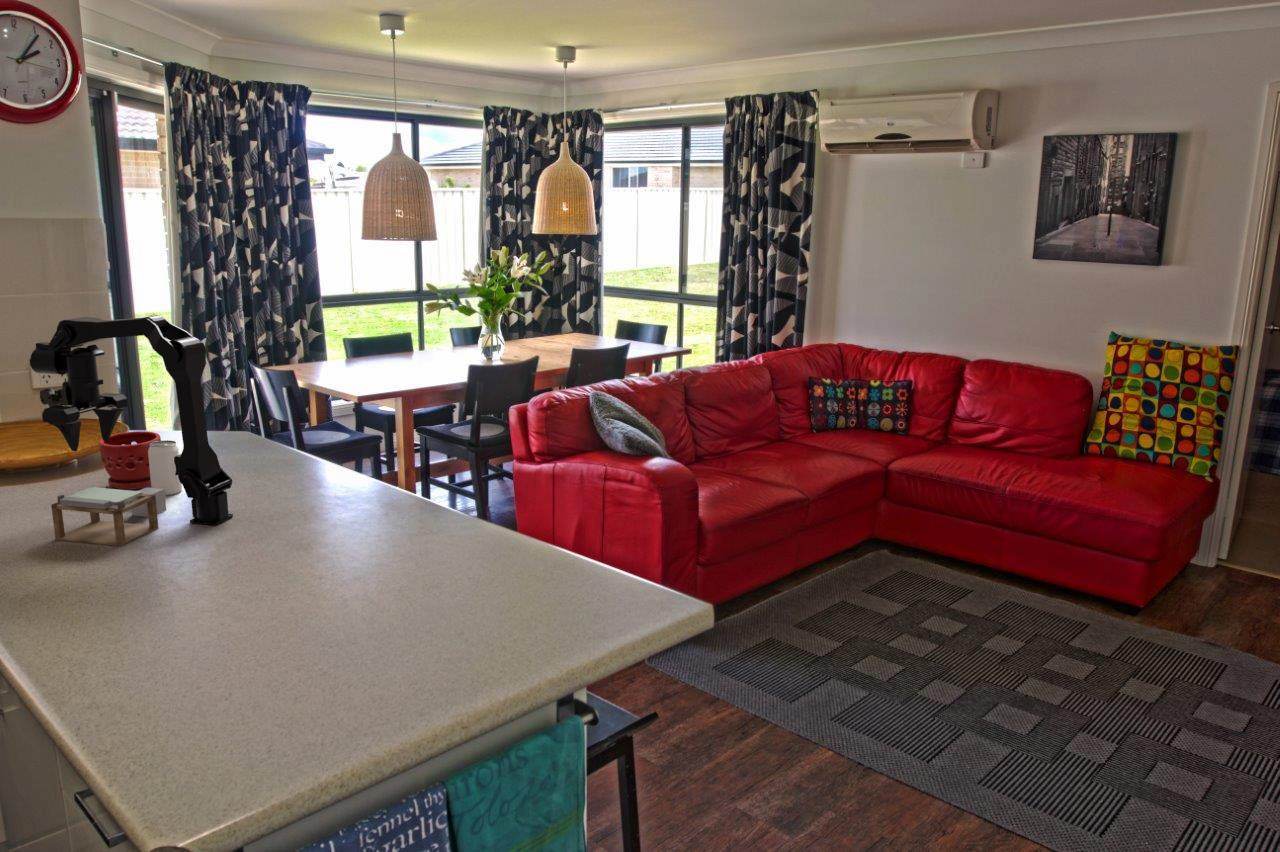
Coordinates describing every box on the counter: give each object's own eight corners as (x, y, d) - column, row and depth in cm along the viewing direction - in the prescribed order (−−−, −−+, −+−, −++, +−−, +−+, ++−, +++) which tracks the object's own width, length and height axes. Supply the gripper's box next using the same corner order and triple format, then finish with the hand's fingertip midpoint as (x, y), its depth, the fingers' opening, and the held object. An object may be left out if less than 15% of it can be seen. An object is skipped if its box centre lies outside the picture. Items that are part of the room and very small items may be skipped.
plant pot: (106, 480, 232) (101, 433, 229) (165, 475, 237) (161, 429, 234) (101, 495, 220) (96, 445, 217) (164, 489, 226) (159, 441, 223)
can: (173, 496, 221) (169, 447, 218) (146, 495, 221) (141, 446, 218) (187, 488, 227) (183, 440, 224) (160, 487, 227) (156, 439, 224)
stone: (166, 510, 211) (164, 489, 210) (151, 517, 207) (149, 495, 205) (148, 508, 212) (146, 487, 211) (132, 515, 207) (130, 493, 206)
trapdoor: (143, 495, 197) (143, 489, 196) (109, 509, 187) (109, 504, 187) (91, 490, 199) (90, 485, 198) (55, 504, 189) (54, 499, 189)
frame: (158, 528, 200) (154, 488, 198) (121, 546, 189) (117, 504, 187) (95, 522, 202) (90, 482, 200) (55, 539, 192) (50, 498, 190)
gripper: (82, 366, 214) (89, 433, 217) (14, 381, 196) (24, 453, 200) (125, 369, 212) (132, 436, 216) (61, 384, 194) (70, 457, 198)
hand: (90, 445), depth 207 cm, fingers open, 9 cm apart
